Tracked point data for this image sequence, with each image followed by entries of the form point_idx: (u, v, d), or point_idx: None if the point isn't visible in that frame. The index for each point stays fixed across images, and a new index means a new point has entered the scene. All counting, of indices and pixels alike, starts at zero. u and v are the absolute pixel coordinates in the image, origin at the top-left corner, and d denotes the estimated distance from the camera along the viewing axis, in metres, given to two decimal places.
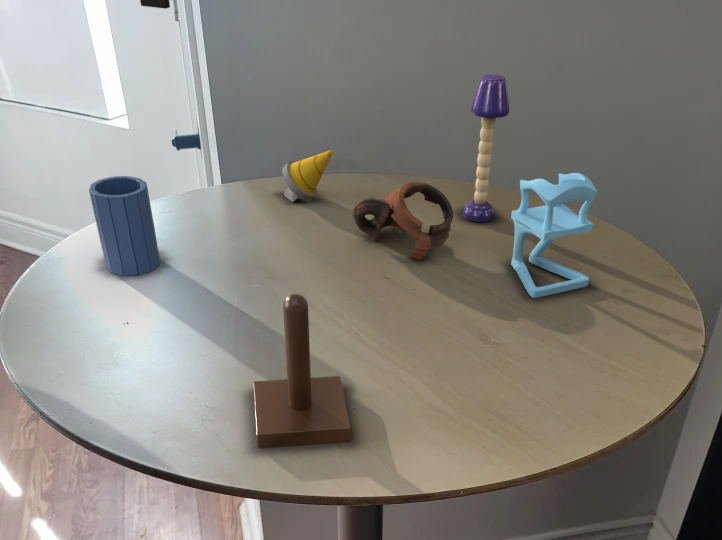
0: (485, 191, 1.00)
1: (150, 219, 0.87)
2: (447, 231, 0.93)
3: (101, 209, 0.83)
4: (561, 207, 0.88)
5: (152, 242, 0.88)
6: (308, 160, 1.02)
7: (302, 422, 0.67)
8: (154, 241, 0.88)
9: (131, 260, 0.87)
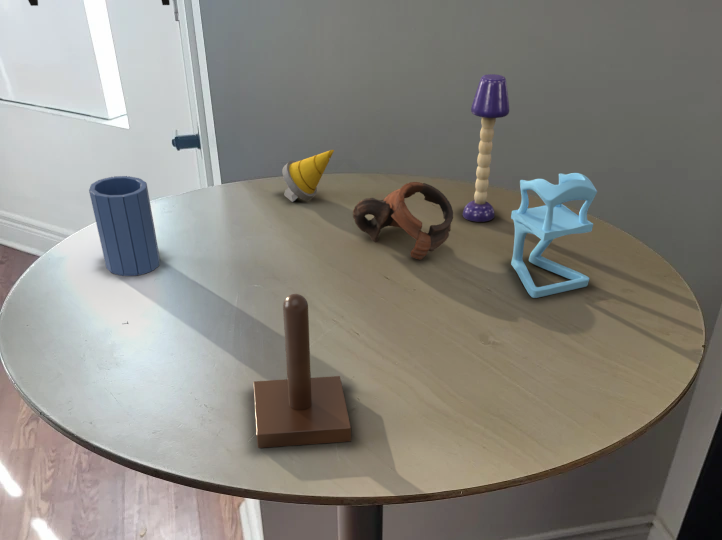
0: (485, 191, 1.00)
1: (150, 219, 0.87)
2: (447, 231, 0.93)
3: (101, 209, 0.83)
4: (561, 207, 0.88)
5: (152, 242, 0.88)
6: (308, 160, 1.02)
7: (302, 422, 0.67)
8: (154, 241, 0.88)
9: (131, 260, 0.87)
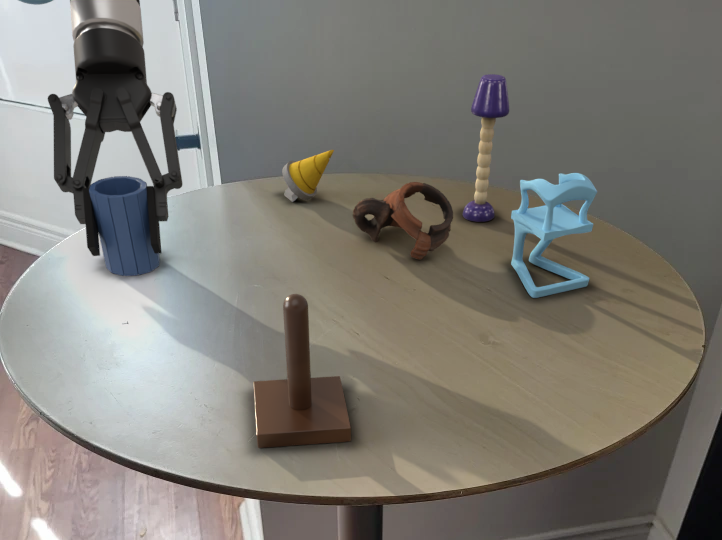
0: (485, 191, 1.00)
1: None
2: (447, 231, 0.93)
3: (101, 209, 0.83)
4: (561, 207, 0.88)
5: None
6: (308, 160, 1.02)
7: (302, 422, 0.67)
8: None
9: (131, 260, 0.87)
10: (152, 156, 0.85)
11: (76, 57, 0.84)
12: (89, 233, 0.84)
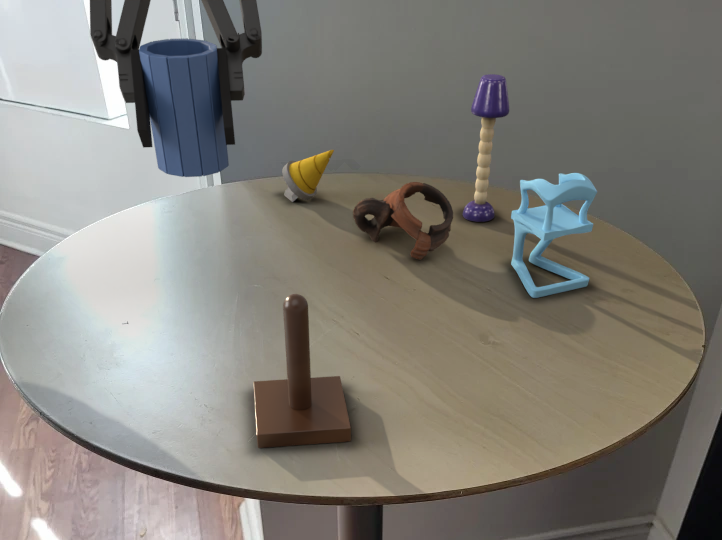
0: (485, 191, 1.00)
1: (220, 97, 0.64)
2: (447, 231, 0.93)
3: (156, 77, 0.61)
4: (561, 207, 0.88)
5: (222, 131, 0.65)
6: (308, 160, 1.02)
7: (302, 422, 0.67)
8: None
9: (194, 154, 0.64)
10: (224, 8, 0.62)
11: None
12: (140, 111, 0.61)
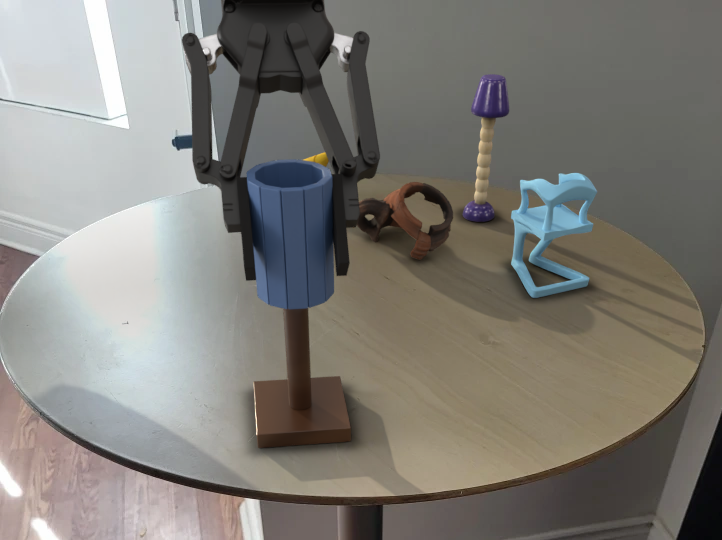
0: (485, 191, 1.00)
1: (332, 224, 0.57)
2: (447, 231, 0.93)
3: (266, 209, 0.54)
4: (561, 207, 0.88)
5: (331, 259, 0.59)
6: (308, 160, 1.02)
7: (302, 422, 0.67)
8: (332, 257, 0.59)
9: (302, 286, 0.58)
10: (339, 128, 0.56)
11: None
12: (247, 247, 0.55)
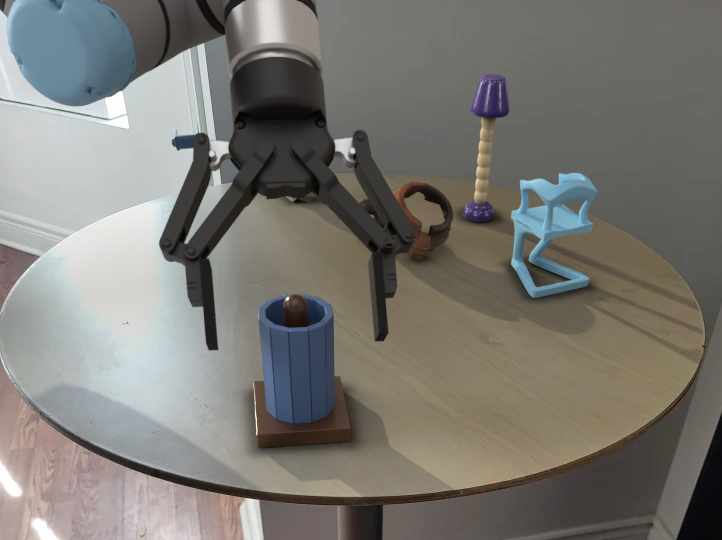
0: (485, 191, 1.00)
1: (333, 352, 0.65)
2: (447, 231, 0.93)
3: (276, 345, 0.62)
4: (561, 207, 0.88)
5: (332, 380, 0.66)
6: None
7: None
8: (333, 377, 0.66)
9: (306, 405, 0.65)
10: (367, 215, 0.62)
11: (237, 97, 0.60)
12: (208, 322, 0.59)
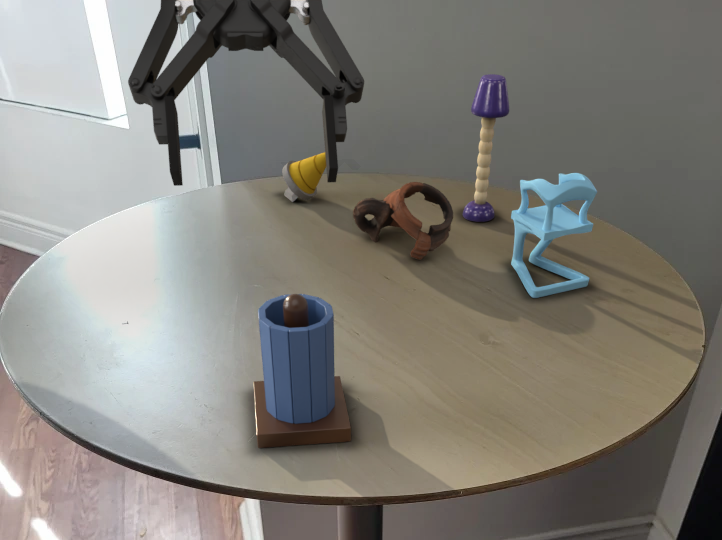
0: (485, 191, 1.00)
1: (333, 352, 0.65)
2: (447, 231, 0.93)
3: (276, 345, 0.62)
4: (561, 207, 0.88)
5: (332, 380, 0.66)
6: (308, 160, 1.02)
7: None
8: (333, 377, 0.66)
9: (306, 405, 0.65)
10: (319, 62, 0.68)
11: None
12: (172, 154, 0.66)
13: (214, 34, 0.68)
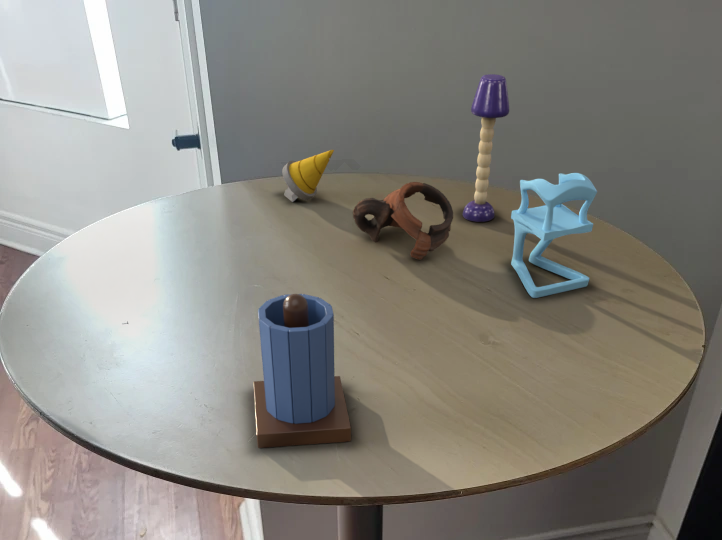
0: (485, 191, 1.00)
1: (333, 352, 0.65)
2: (447, 231, 0.93)
3: (276, 345, 0.62)
4: (561, 207, 0.88)
5: (332, 380, 0.66)
6: (308, 160, 1.02)
7: None
8: (333, 377, 0.66)
9: (306, 405, 0.65)
10: None
11: None
12: None
13: None
